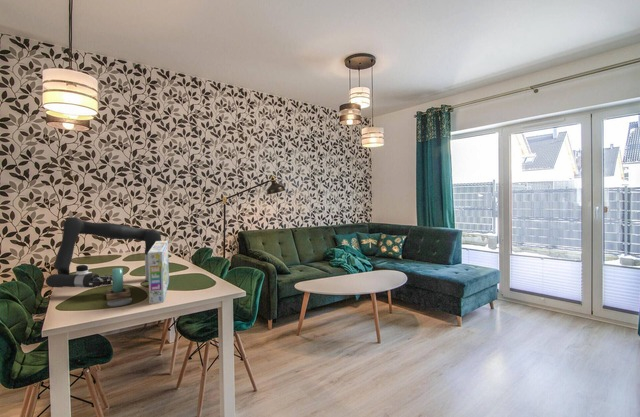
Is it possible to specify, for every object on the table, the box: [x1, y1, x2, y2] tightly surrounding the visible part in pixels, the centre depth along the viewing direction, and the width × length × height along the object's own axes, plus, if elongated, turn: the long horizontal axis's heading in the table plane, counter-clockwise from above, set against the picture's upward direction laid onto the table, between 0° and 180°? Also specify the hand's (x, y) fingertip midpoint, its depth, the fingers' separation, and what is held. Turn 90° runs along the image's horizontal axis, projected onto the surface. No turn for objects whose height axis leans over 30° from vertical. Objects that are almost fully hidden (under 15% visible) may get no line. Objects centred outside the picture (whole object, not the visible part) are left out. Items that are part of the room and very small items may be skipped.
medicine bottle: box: [74, 264, 93, 274], centre depth 200 cm, size 7×7×12 cm
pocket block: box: [105, 286, 131, 301], centre depth 178 cm, size 11×11×2 cm
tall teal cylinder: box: [111, 267, 124, 293], centre depth 177 cm, size 5×5×15 cm
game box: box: [148, 240, 170, 305], centre depth 183 cm, size 40×7×27 cm, turn 22°
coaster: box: [106, 297, 133, 308], centre depth 165 cm, size 11×11×1 cm
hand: (116, 280), depth 177 cm, fingers open, 8 cm apart
